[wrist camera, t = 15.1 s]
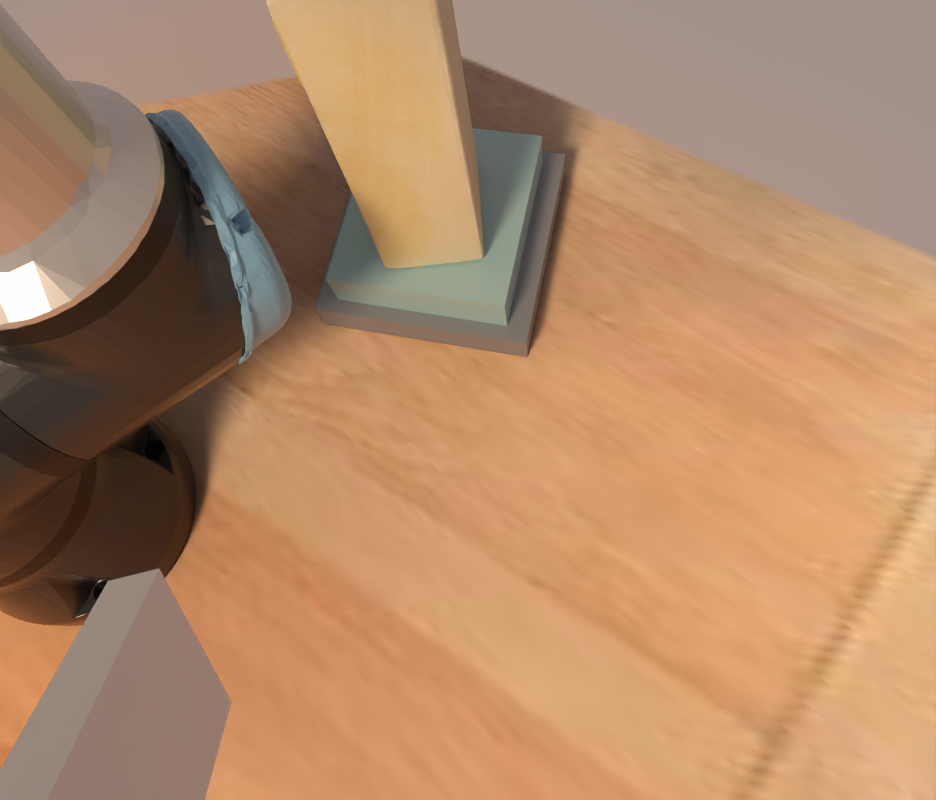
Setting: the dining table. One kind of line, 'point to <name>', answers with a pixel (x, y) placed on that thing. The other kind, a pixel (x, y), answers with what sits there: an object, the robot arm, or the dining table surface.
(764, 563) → the dining table surface
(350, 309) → the brick stand
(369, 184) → the toy refrigerator
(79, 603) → the robot arm
